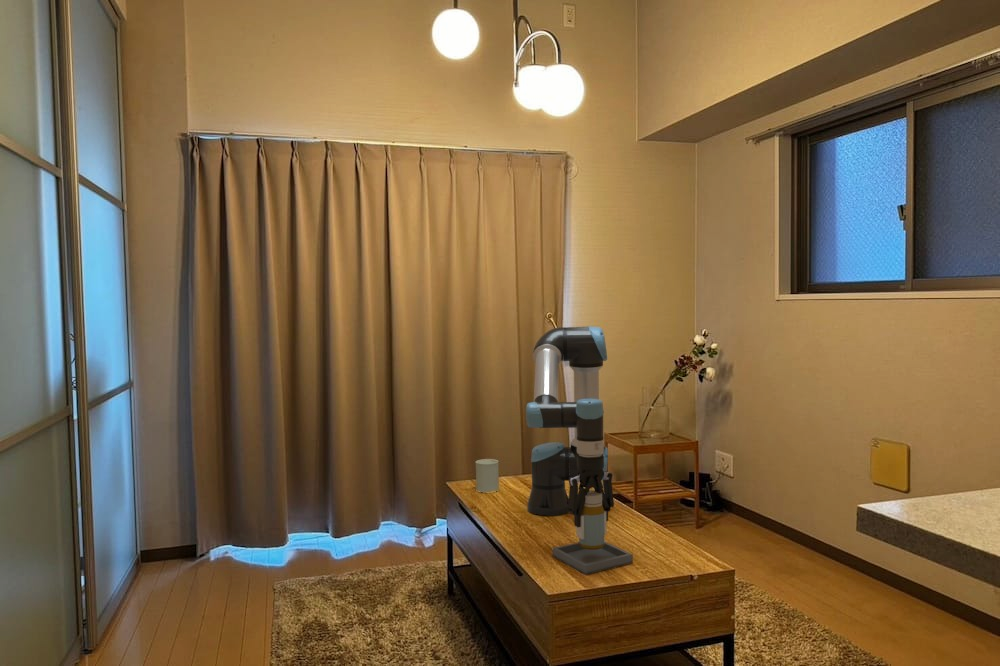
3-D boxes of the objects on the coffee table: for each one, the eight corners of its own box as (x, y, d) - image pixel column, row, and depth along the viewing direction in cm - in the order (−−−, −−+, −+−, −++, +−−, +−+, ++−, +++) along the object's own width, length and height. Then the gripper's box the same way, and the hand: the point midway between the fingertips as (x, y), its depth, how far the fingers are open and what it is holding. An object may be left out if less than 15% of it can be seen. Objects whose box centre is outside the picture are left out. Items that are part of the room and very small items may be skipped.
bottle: (588, 552, 189) (587, 497, 188) (574, 544, 195) (573, 492, 194) (609, 547, 192) (608, 494, 191) (594, 540, 198) (594, 488, 198)
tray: (552, 556, 197) (552, 548, 197) (597, 546, 205) (597, 538, 204) (585, 575, 183) (585, 565, 183) (632, 563, 190) (632, 554, 190)
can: (499, 493, 266) (498, 462, 265) (475, 493, 266) (475, 463, 265) (499, 487, 275) (498, 457, 275) (476, 487, 275) (475, 457, 274)
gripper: (568, 461, 185) (570, 545, 185) (626, 452, 194) (627, 532, 195) (553, 456, 191) (554, 537, 192) (610, 448, 201) (611, 526, 201)
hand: (591, 535), depth 193 cm, fingers closed on bottle, 7 cm apart
